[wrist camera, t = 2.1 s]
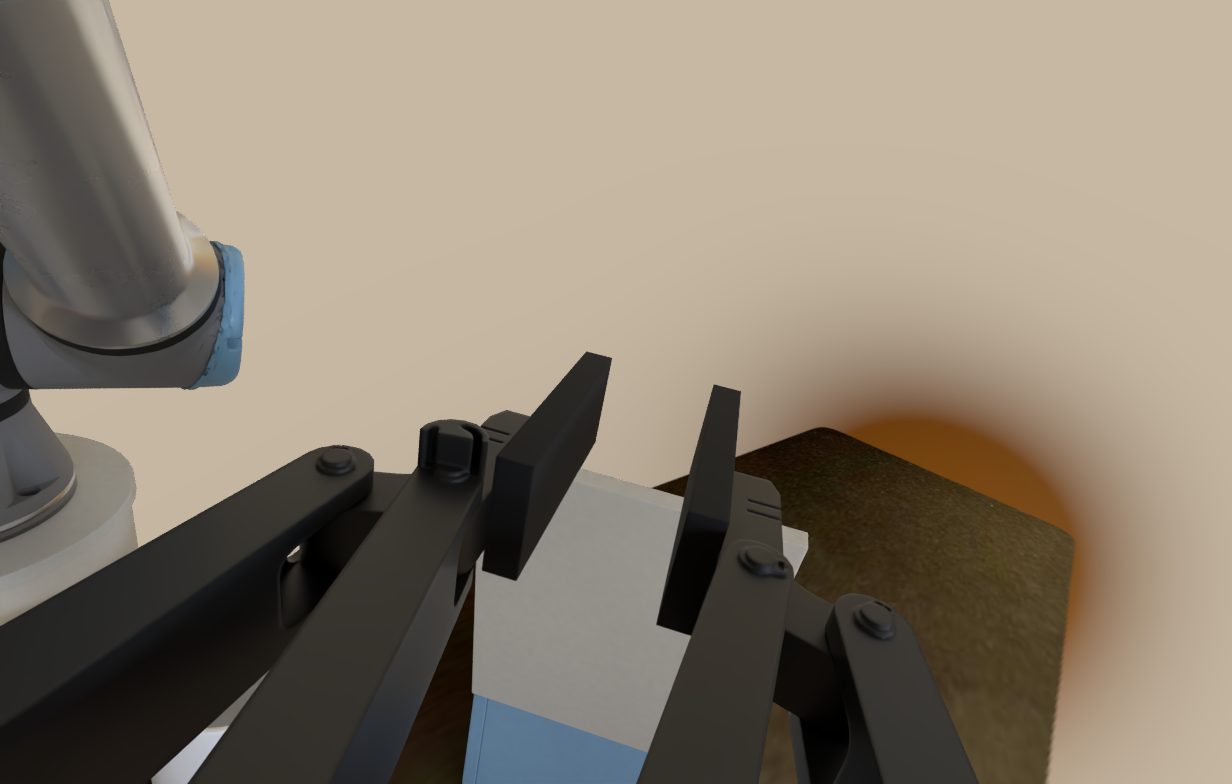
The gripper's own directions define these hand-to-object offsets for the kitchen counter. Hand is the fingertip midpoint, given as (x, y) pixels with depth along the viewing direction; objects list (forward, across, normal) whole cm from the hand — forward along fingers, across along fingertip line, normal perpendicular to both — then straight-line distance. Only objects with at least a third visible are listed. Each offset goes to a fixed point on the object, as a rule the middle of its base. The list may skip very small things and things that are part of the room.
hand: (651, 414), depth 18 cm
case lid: (+6, 0, -13) cm, 14 cm away
